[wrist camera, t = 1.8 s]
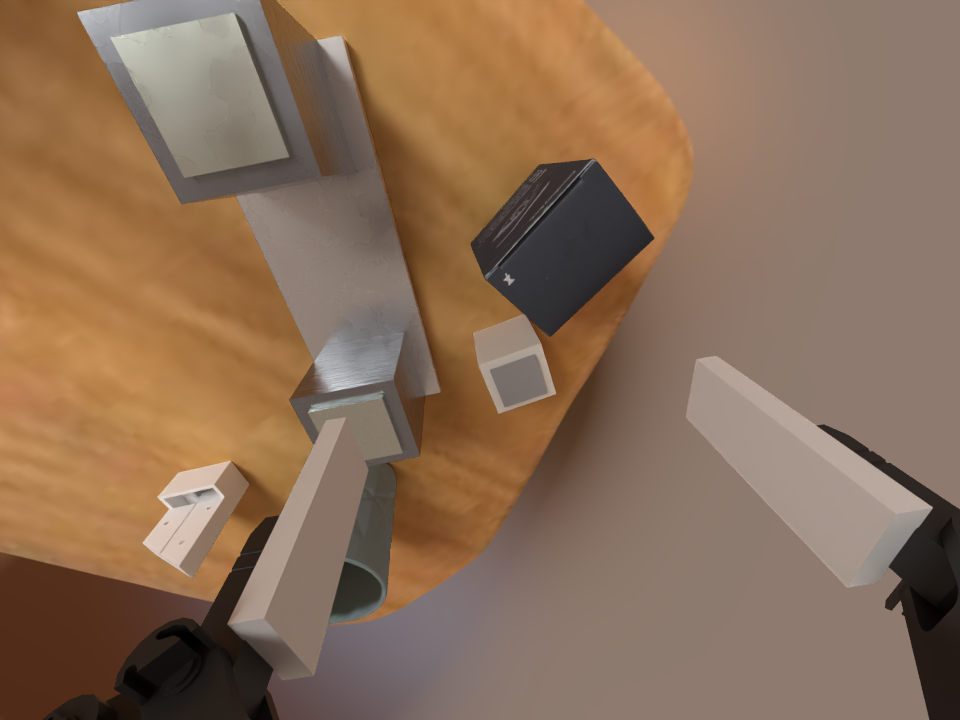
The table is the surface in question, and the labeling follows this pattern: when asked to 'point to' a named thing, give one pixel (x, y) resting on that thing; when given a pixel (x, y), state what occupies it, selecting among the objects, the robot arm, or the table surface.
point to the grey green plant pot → (367, 549)
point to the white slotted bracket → (195, 514)
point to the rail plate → (286, 191)
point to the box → (559, 241)
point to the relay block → (513, 363)
